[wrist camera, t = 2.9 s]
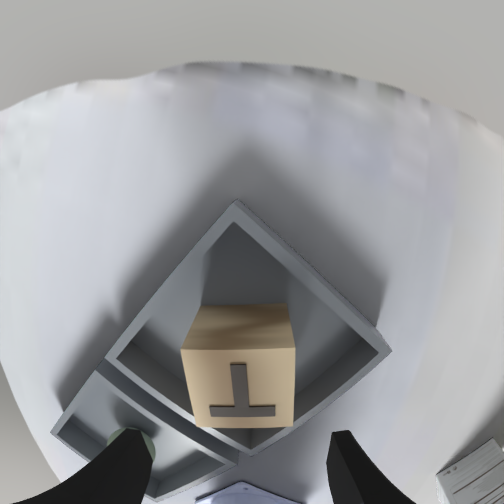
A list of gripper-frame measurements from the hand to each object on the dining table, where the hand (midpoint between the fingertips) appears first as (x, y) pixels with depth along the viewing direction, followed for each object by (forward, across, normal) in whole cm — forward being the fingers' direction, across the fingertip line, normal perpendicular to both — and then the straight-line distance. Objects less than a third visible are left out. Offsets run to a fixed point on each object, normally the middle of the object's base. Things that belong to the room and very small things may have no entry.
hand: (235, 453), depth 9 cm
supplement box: (+10, -27, +25) cm, 38 cm away
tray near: (+9, 0, 0) cm, 9 cm away
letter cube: (+9, 0, 0) cm, 9 cm away
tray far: (+9, +10, +10) cm, 16 cm away
